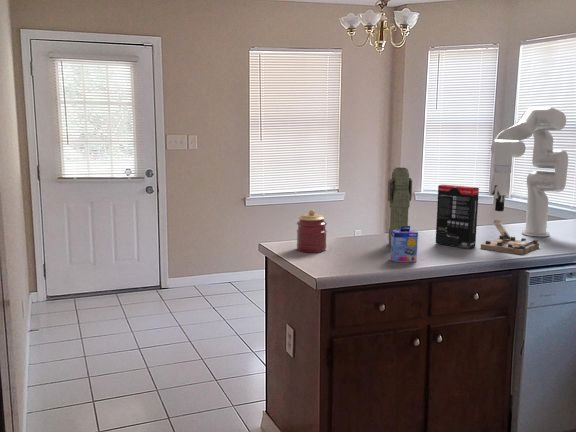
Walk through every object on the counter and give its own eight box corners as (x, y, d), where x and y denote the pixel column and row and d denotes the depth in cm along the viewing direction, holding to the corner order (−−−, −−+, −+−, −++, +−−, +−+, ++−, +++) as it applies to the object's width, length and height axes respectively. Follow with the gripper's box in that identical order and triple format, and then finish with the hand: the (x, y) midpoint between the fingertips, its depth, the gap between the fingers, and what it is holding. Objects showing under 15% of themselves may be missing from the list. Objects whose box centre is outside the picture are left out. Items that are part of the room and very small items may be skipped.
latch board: (499, 241, 264) (499, 234, 263) (538, 247, 252) (539, 239, 251) (480, 248, 249) (481, 240, 249) (521, 254, 237) (522, 246, 237)
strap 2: (526, 241, 253) (526, 238, 253) (532, 242, 251) (533, 239, 251) (512, 246, 242) (512, 243, 242) (519, 247, 240) (519, 244, 240)
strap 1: (504, 238, 260) (504, 236, 261) (510, 239, 258) (511, 237, 259) (493, 222, 249) (494, 220, 250) (500, 223, 247) (501, 220, 248)
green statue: (381, 244, 258) (383, 167, 252) (401, 241, 264) (403, 166, 258) (394, 247, 250) (397, 169, 245) (414, 245, 256) (417, 168, 251)
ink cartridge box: (393, 262, 224) (394, 226, 222) (389, 259, 229) (390, 224, 227) (417, 262, 225) (418, 226, 222) (413, 258, 230) (414, 223, 228)
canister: (292, 251, 243) (292, 211, 240) (302, 245, 255) (302, 207, 252) (321, 254, 238) (321, 212, 236) (329, 247, 250) (330, 208, 248)
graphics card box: (476, 247, 252) (480, 186, 248) (469, 249, 247) (473, 187, 243) (441, 242, 264) (444, 183, 259) (434, 244, 259) (437, 184, 254)
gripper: (500, 168, 254) (497, 208, 257) (486, 169, 243) (483, 211, 246) (517, 168, 249) (514, 210, 252) (503, 170, 238) (500, 213, 241)
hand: (499, 210), depth 249 cm, fingers closed
